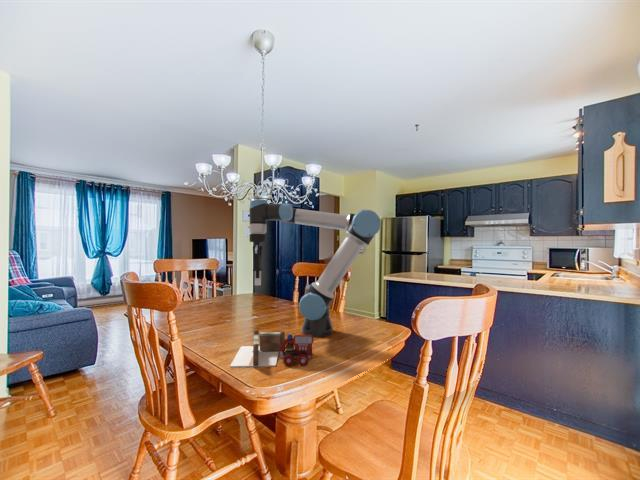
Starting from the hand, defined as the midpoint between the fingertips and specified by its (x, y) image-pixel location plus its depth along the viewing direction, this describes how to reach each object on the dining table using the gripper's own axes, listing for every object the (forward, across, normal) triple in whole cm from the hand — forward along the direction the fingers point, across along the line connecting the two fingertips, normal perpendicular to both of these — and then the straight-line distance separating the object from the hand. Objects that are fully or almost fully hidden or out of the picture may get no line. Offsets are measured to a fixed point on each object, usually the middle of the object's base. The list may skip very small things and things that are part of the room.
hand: (257, 285), depth 131 cm
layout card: (+24, +20, +3) cm, 32 cm away
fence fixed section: (+24, +17, +7) cm, 30 cm away
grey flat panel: (+24, +25, +3) cm, 34 cm away
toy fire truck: (+25, +27, +18) cm, 41 cm away
